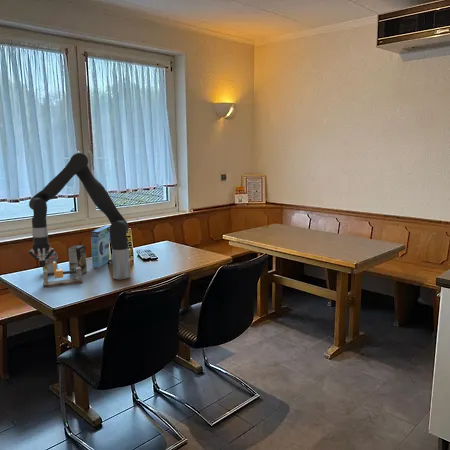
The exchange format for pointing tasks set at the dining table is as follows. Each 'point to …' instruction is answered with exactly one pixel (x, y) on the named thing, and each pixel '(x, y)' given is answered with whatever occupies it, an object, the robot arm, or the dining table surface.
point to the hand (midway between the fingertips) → (42, 266)
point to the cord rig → (62, 282)
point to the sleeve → (57, 271)
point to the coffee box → (77, 258)
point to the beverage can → (50, 262)
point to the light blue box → (100, 246)
